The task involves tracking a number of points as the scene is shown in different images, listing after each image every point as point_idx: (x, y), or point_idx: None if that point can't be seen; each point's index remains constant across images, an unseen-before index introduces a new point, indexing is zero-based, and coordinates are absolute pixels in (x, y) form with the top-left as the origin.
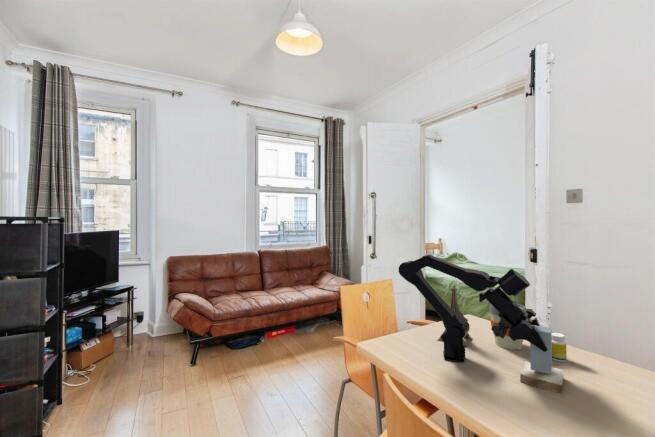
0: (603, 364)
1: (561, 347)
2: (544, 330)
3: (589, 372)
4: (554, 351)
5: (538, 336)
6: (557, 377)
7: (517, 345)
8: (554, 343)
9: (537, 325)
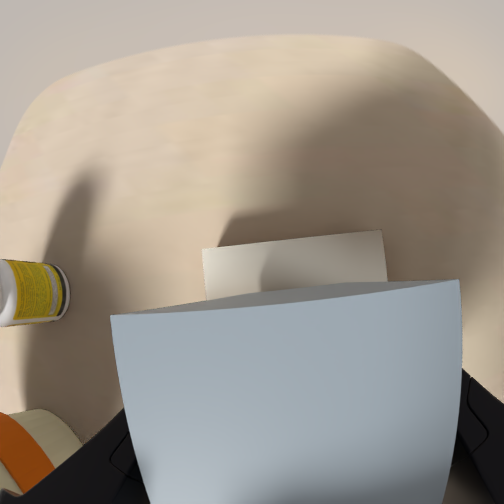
0: (29, 168)
1: (23, 275)
2: (362, 408)
3: (98, 184)
4: (44, 303)
5: (499, 408)
6: (318, 258)
7: (59, 431)
8: (16, 303)
9: (126, 496)
